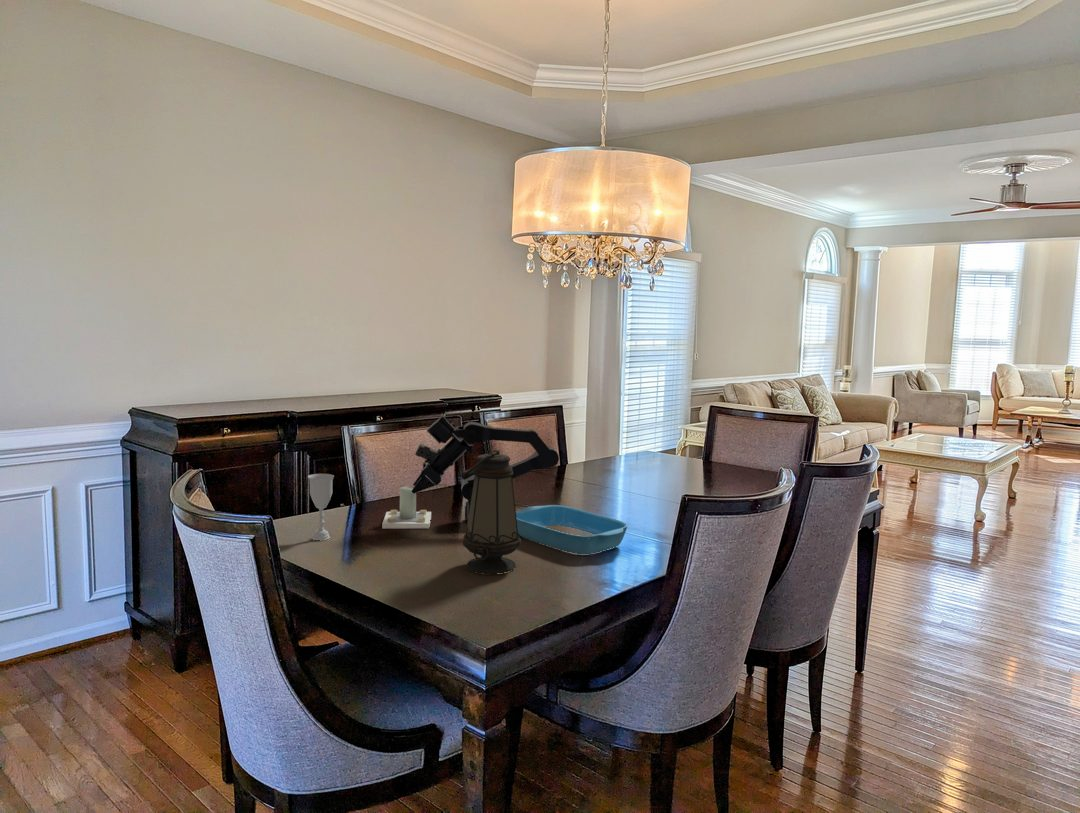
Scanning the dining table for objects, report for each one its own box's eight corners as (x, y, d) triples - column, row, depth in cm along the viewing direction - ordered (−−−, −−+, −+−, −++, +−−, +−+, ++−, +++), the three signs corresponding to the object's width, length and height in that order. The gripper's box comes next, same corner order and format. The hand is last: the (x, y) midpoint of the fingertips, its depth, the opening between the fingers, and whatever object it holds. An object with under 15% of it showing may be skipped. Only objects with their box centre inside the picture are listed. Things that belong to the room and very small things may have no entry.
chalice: (339, 537, 208) (339, 475, 206) (325, 543, 202) (324, 479, 200) (317, 533, 210) (317, 472, 208) (302, 540, 204) (302, 477, 202)
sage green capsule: (417, 518, 224) (417, 489, 223) (401, 519, 222) (401, 490, 221) (414, 514, 229) (414, 486, 228) (398, 515, 227) (398, 486, 226)
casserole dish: (497, 534, 216) (497, 510, 215) (550, 522, 232) (551, 500, 231) (588, 566, 190) (589, 539, 189) (642, 550, 205) (643, 525, 204)
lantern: (509, 582, 176) (512, 459, 173) (450, 574, 180) (452, 455, 176) (529, 559, 194) (533, 447, 190) (475, 552, 197) (478, 443, 194)
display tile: (431, 516, 233) (431, 508, 233) (429, 528, 220) (429, 520, 219) (386, 516, 232) (386, 508, 231) (382, 528, 218) (382, 520, 218)
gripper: (432, 431, 233) (397, 465, 233) (429, 440, 214) (391, 477, 214) (456, 455, 234) (422, 489, 234) (456, 466, 216) (418, 503, 216)
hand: (413, 489), depth 225 cm, fingers open, 9 cm apart
